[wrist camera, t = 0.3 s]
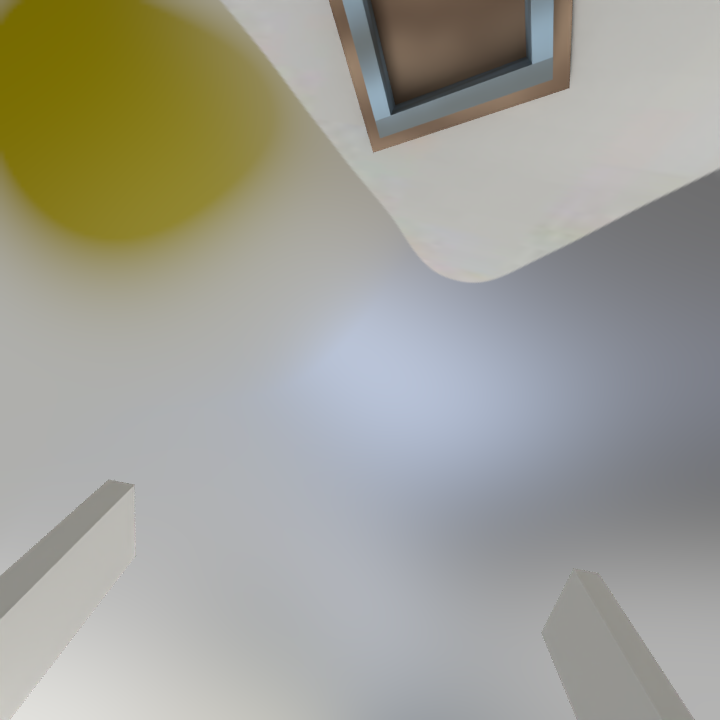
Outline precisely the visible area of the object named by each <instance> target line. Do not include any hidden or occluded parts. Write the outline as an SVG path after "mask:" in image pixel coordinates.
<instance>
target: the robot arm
mask: <svg viewBox="0 0 720 720" xmlns="http://www.w3.org/2000/svg"><path fill="white" fill-rule="evenodd" d="M135 556H136V553H135V486H134V484H129V483H123V482H118V481H112V480H108V481H106V482H105V483H104V484H103V485H102V486H101V487H100V488H99V489H97V491H95V492H94V493H93V494H92V495H91V496H90V497H89V498H87V499H86V500H85V501H84V502H83V503H82V504H81V505H80V506H78V507H77V508H76V509H75V510H74V511H73V512H72V513H71V514H69V515H68V516H67V517H66V518H65V519H64V520H63V521H62V522H60V523H59V524H58V525H57V526H56V527H55V528H54V529H53V530H51V531H50V532H49V533H48V534H47V535H46V536H45V537H44V538H42V539H41V540H40V541H39V542H38V543H37V544H36V545H35V546H33V547H32V548H31V549H30V550H29V551H28V552H27V553H26V554H24V555H23V556H22V557H21V558H20V559H19V560H18V561H17V562H16V563H14V564H13V565H12V566H11V567H10V568H9V569H8V570H6V571H5V572H4V573H3V574H2V575H1V576H0V720H10V719H11V718H12V716H13V715H14V714H15V712H16V711H17V710H18V709H19V707H20V706H21V705H22V703H23V702H24V701H25V699H26V698H27V697H28V696H29V694H30V693H31V692H32V690H33V689H34V688H35V686H36V685H37V684H38V682H39V681H40V680H41V679H42V677H43V676H44V675H45V673H46V672H47V671H48V669H49V668H50V667H51V666H52V664H53V663H54V662H55V660H56V659H57V658H58V656H59V655H60V654H61V653H62V651H63V650H64V649H65V647H66V646H67V645H68V644H69V642H70V641H71V640H72V638H73V637H74V636H75V634H76V633H77V632H78V631H79V629H80V628H81V627H82V625H83V624H84V623H85V621H86V620H87V619H88V617H89V616H90V615H91V614H92V612H93V611H94V610H95V608H96V607H97V606H98V604H99V603H100V602H101V600H102V599H103V598H104V597H105V595H106V594H107V593H108V591H109V590H110V589H111V588H112V586H113V585H114V584H115V582H116V581H117V580H118V578H119V577H120V576H121V574H122V573H123V572H124V571H125V569H126V568H127V567H128V565H129V564H130V563H131V561H132V560H133V559H134V558H135ZM541 633H542V635H543V638H544V641H545V643H546V646H547V648H548V650H549V653H550V655H551V658H552V660H553V663H554V665H555V667H556V670H557V672H558V675H559V677H560V680H561V682H562V685H563V687H564V689H565V692H566V694H567V697H568V699H569V702H570V704H571V706H572V709H573V711H574V714H575V716H576V719H577V720H694V718H693V717H692V715H691V714H690V712H689V711H688V709H687V708H686V706H685V704H684V703H683V702H682V700H681V698H680V697H679V695H678V694H677V692H676V691H675V689H674V688H673V686H672V685H671V683H670V682H669V680H668V679H667V677H666V675H665V674H664V672H663V671H662V669H661V668H660V666H659V665H658V663H657V662H656V660H655V659H654V657H653V656H652V654H651V652H650V651H649V649H648V648H647V647H646V645H645V643H644V642H643V640H642V639H641V637H640V636H639V634H638V633H637V631H636V630H635V628H634V626H633V625H632V624H631V622H630V620H629V619H628V617H627V616H626V614H625V613H624V611H623V610H622V608H621V607H620V605H619V604H618V602H617V600H616V599H615V597H614V596H613V594H612V593H611V591H610V590H609V588H608V587H607V585H606V584H605V582H604V581H603V579H602V578H601V576H600V575H599V573H595V572H590V571H585V570H579V569H574V568H573V570H572V572H571V574H570V576H569V578H568V580H567V582H566V584H565V586H564V588H563V590H562V592H561V594H560V596H559V598H558V600H557V602H556V604H555V606H554V608H553V610H552V612H551V614H550V616H549V618H548V620H547V622H546V624H545V626H544V628H543V631H542V632H541Z"/></svg>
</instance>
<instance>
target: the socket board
mask: <svg viewBox="0 0 720 720" xmlns="http://www.w3.org/2000/svg"><path fill="white" fill-rule="evenodd" d="M329 2H330V6H331V9H332V12H333V16H334V19H335V23H336V26H337V30H338V33H339V36H340V40H341V43H342V47H343V50H344V54H345V57H346V60H347V64H348V67H349V71H350V74H351V78H352V81H353V85H354V88H355V91H356V95H357V98H358V102H359V105H360V109H361V112H362V115H363V119H364V122H365V126H366V129H367V133H368V136H369V139H370V143H371V146H372V150H373V152H376V151H379V150H382V149H385V148H389V147H392V146H395V145H398V144H401V143H404V142H407V141H410V140H413V139H416V138H419V137H422V136H425V135H428V134H431V133H434V132H437V131H440V130H443V129H446V128H449V127H452V126H455V125H458V124H461V123H464V122H468V121H471V120H474V119H477V118H480V117H483V116H486V115H489V114H492V113H495V112H498V111H501V110H504V109H507V108H510V107H513V106H516V105H519V104H522V103H525V102H528V101H531V100H534V99H537V98H540V97H543V96H546V95H550V94H553V93H556V92H559V91H562V90H565V89H568V88H569V82H570V55H571V27H572V0H329Z"/></svg>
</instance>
